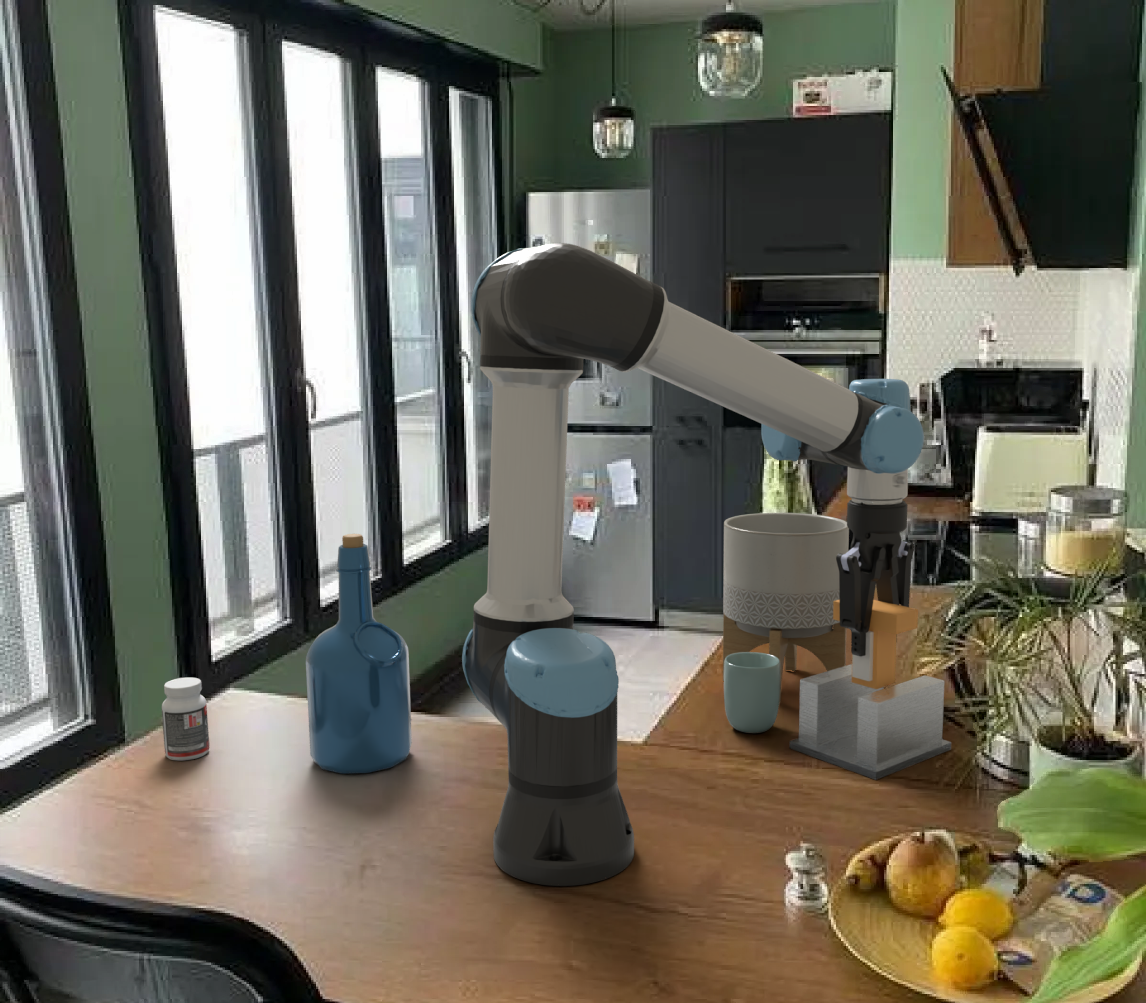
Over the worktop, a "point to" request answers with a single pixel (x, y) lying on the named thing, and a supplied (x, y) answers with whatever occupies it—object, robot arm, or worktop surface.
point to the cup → (751, 691)
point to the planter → (783, 586)
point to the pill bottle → (185, 720)
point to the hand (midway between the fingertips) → (873, 674)
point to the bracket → (870, 722)
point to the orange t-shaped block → (884, 638)
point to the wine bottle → (358, 679)
